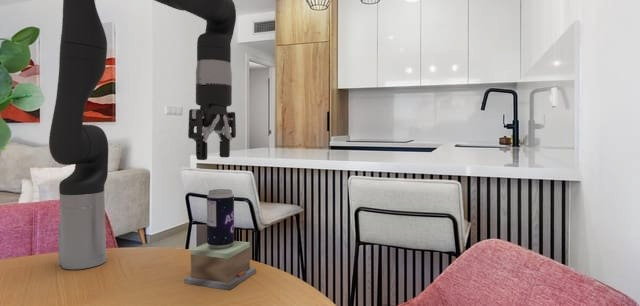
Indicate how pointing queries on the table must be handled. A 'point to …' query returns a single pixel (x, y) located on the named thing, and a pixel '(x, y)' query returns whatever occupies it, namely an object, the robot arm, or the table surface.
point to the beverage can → (220, 218)
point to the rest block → (220, 265)
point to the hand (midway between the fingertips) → (213, 158)
